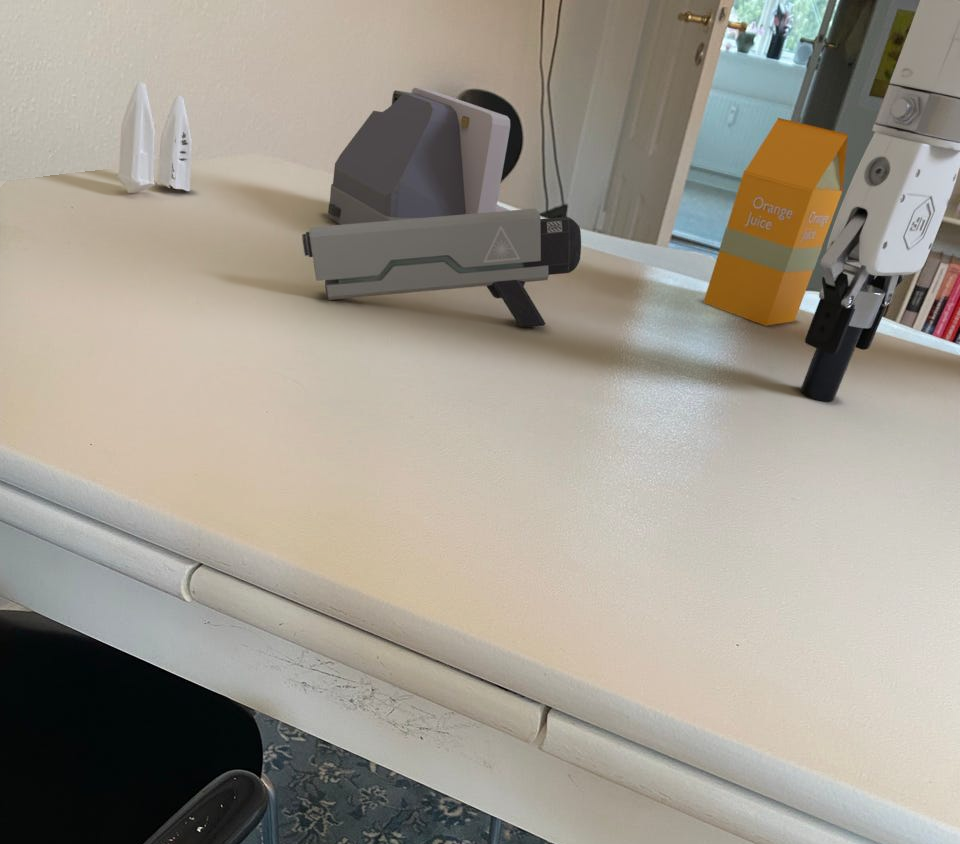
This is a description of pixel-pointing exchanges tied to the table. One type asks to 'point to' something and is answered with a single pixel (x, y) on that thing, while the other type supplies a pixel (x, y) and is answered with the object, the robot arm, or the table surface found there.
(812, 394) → the torch
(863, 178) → the robot arm
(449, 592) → the table surface
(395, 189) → the instant camera
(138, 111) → the shaker set
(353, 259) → the gun
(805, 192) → the orange juice
